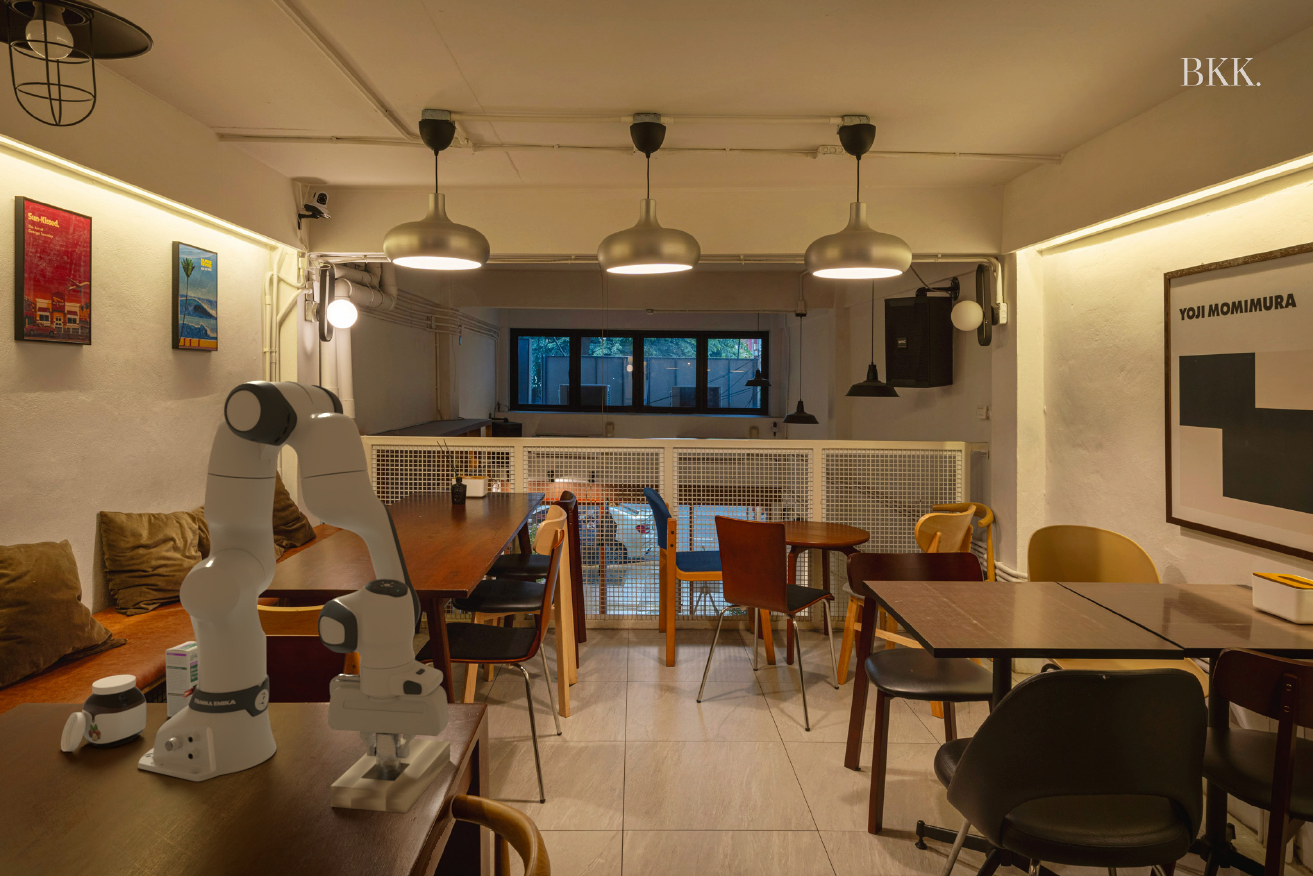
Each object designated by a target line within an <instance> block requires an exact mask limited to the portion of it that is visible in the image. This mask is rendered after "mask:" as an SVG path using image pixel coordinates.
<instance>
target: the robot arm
mask: <svg viewBox="0 0 1313 876" xmlns="http://www.w3.org/2000/svg"><path fill="white" fill-rule="evenodd" d="M339 398H340V397H338V395H336V393H334V392H333V391H332V390H330V389H328V388H325V387H323V386H320V385H317V384H316V385H315V384H307V383H302V382H297V381H289V380H288V381H267V380H252V381H248V382H244V383H241V384H239V385H237V386H236V387H234V388H233V389H232V390H230V392H229V394H228V395H227V397H226V399H225V402H224V405H223V416H224V419H222V420H221V421H220V423H219V424H218V426H217V429H216V431H215V435H214V437H213V440H212V441H213V442H212V444H211V445H212V446H211V450H210V453H209V460H208V464H207V465H208V466H207V473H206V474H207V475H206V482H205V483H206V484H205V495H204V505H203V517H204V520H205V522H206V524H207V530H208V535H209V544H210V545H209V546H210V547H209V548H210V549H209V554H208V557H205V558H204V559H202V560H201V561H199V562H198V563H196V564H195V565H194V566H192V568H191V569H190V571H189V572H188V573H187V575H186V576H185V578H184V580H183V581H182V583H181V585H180V588H179V599H180V603H181V605H182V607H183V609H184V610H185V611H186V613H188V615H189V617H190V621H191V624H192V629H193V633H194V637H195V641H196V643H197V661H198V684H196V685H194V686H193V688H191V689H189V690H187V691H185V692H183V693H186V692H188V693H187V694H186V695H185V696H184V698H185V697H187V696H189V695H191V694H192V697H191V699H190V702H189V705H187V706H186V707H185V708H184V709H182V710H181V711H180V712H178V713H177V714H176V715H174V716H173V717H170V719H168V720H166V721H165V722H164V723H163V724H162V725H161V726H160V727H159V729H158V730H157V732H156V734H155V737H154V742H153V748H151V749H150V750H148V751H147V752H146V753H144V754H143V755H142V756H141V757H140V758H139V761H138V763H137V769H141V770H145V771H147V772H148V771H149V772H153V773H157V774H162V775H166V776H171V777H176V778H179V779H184V780H188V781H192V782H202V781H206V780H208V779H212V778H215V777H218V776H220V775H226V774H233V773H237V772H240V771H244V770H247V769H249V768H253V767H255V766H257V765H261V763H264V762H265V761H267V760H268V759H270V758H271V757H272V756H273V755H274V754H275V752H276V751H277V745H276V742H275V737H274V735H273V730H272V727H271V722H270V715H269V701H270V677H269V675H268V674H267V636H266V633H265V631H264V630H263V628H262V625H261V620H260V616H259V611H258V599H259V596H260V595H261V594H262V593H263V592H265V591H266V590H267V589H268V588H269V586H270V585H271V583H272V582H273V580H274V578H275V575H276V571H277V559H276V556H275V541H274V529H273V513H274V511H273V510H274V503H275V502H274V500H275V491H276V482H277V481H276V480H277V470H278V469H277V468H278V467H277V466H278V458H279V454H280V451H281V450H282V449H283V448H284V446H290V447H291V448H292V449H293V450H294V452H295V453H296V456H297V459H298V464H299V465H298V467H299V476H300V477H299V478H300V485H301V495H302V498H303V501H304V504H305V505H304V506H305V507H306V509H307V510H308V512H309V513H310V514H311V515H312V516H313V517H314V518H315V519H317V520H319V521H320V522H322V523H324V524H326V525H329V526H331V527H335V528H340V529H342V530H346V531H347V530H348V531H350V532H352V533H355V534H356V535H358V536H359V537H360V538H362V539H363V541H364V542H365V544H366V546H367V549H368V552H369V556H370V559H371V564H372V566H373V570H374V574H375V578H376V579H373V580H370V581H368V582H366V583H365V584H364V585H363V586H362V588H361V589H360V588H359V589H358V590H356V591H354V592H352V593H349V594H345V595H342V596H337V597H336V598H333V599H332V600H328V601H327V602H325V604H324V605H323V606H322V608H321V610H320V613H319V615H318V619H317V632H318V637H319V639H320V642H321V643H322V644H323V646H325V647H326V648H327V649H329V650H330V651H332V652H335V653H338V654H339V653H340V654H348V653H349V654H350V653H353V652H355V653H358V654H359V655H360V656H359V657H360V658H359V659H360V660H359V674H347V673H346V674H345V673H340V674H338V675H336V676H334V677H333V678H332V679H331V680H330V681H329V682H330V683H329V695H330V699H329V706H328V714H327V724H328V725H329V726H328V727H330V729H331V730H333V731H345V732H358V733H359V738H360V739H361V741H362V743H363V744H364V746H365V747H366V753H367V756H376V739H375V738H374V736H373V733H375V734H376V733H392V734H401V735H402V738H403V740H406V742H405V743H404V744H401V745H400V747H398V748H397V753H398V755H397V758H407V757H408V756H409V753H410V744H411V743H412V741H413V739H415V738H416V736H427V737H430V736H431V737H438V736H439V735H440V734H442V732H443V731H444V730H445V729H446V727H447V726H448V723H449V707H448V700H447V699H448V698H447V693H446V690H445V688H443V686H441V685H440V684H441V683H442V682H443V679H444V674H443V671H441V670H440V669H437V668H434V667H433V666H432V667H431V666H430V665H427V664H424V663H422V662H420V661H418V660H416V655H415V654H416V653H415V651H414V648H413V640H414V636H415V633H416V632H415V631H416V630H415V628H416V626H417V623H418V622H419V619H420V615H421V609H422V608H421V602H420V598H419V596H418V594H417V592H416V589H415V588H414V584H413V583H412V581H411V578H410V575H409V572H408V568H407V564H406V561H405V557H404V553H403V549H402V545H401V543H400V539H399V535H398V533H397V529H396V525H395V522H394V519H393V517H392V514H391V512H390V508H389V507H388V505H387V504H386V503H385V502H384V501H383V500H381V499H380V498H379V497H378V496H377V494H376V492H375V490H374V488H373V486H372V484H371V480H370V476H369V475H370V474H369V471H368V470H369V468H368V462H367V457H366V453H365V452H366V451H365V448H364V443H363V440H362V437H361V434H360V431H359V428H358V425H357V424H356V422H355V420H354V419H352V418H351V417H350V416H348V415H345V414H344V408H343V404H342V402H341V400H340V399H339Z"/></svg>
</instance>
